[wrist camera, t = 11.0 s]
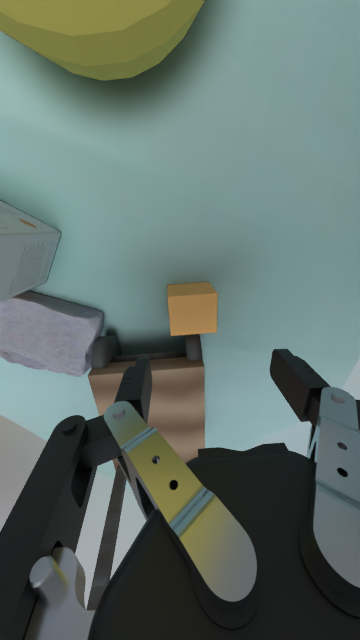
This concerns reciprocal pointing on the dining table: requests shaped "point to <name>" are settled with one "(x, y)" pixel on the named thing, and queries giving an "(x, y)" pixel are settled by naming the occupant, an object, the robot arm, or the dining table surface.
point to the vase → (100, 32)
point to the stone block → (48, 333)
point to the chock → (192, 308)
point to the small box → (24, 251)
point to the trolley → (164, 414)
